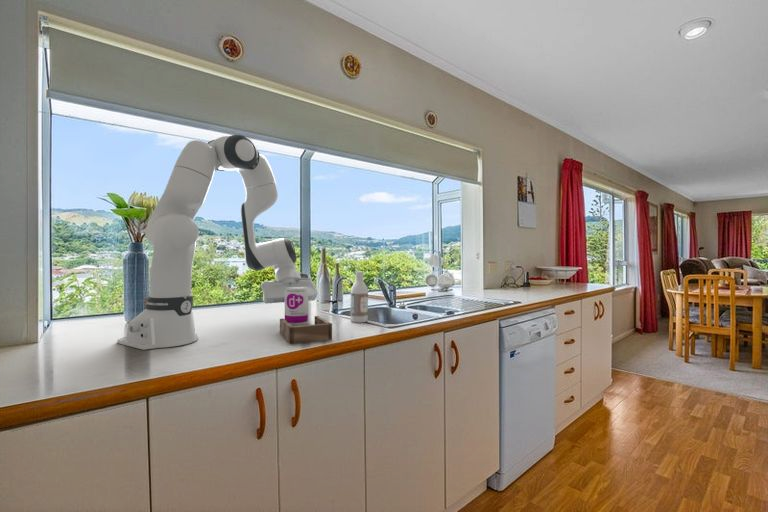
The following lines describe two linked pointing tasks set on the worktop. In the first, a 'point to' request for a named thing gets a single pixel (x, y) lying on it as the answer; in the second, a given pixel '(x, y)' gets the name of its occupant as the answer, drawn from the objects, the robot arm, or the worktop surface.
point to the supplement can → (296, 306)
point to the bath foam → (359, 300)
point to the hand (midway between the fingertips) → (293, 309)
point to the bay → (306, 331)
